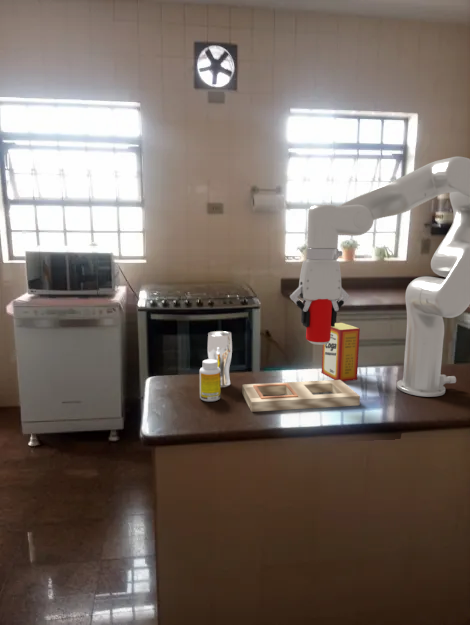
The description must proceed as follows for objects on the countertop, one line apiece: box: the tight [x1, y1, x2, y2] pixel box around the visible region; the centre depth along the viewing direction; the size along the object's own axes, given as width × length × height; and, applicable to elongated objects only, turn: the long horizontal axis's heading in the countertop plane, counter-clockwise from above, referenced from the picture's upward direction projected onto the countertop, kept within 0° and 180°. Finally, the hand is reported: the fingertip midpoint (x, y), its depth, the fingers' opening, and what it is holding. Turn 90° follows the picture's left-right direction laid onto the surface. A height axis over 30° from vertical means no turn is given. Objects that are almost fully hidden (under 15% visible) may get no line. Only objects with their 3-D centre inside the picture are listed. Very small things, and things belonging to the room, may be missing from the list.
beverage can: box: [305, 298, 332, 346], centre depth 117 cm, size 6×6×12 cm
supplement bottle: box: [198, 358, 222, 403], centre depth 119 cm, size 6×6×10 cm
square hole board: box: [241, 379, 361, 413], centre depth 119 cm, size 28×13×3 cm, turn 99°
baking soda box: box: [320, 322, 361, 382], centre depth 138 cm, size 10×6×16 cm
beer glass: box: [207, 330, 233, 388], centre depth 130 cm, size 7×7×15 cm
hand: (318, 325), depth 117 cm, fingers closed on beverage can, 6 cm apart
